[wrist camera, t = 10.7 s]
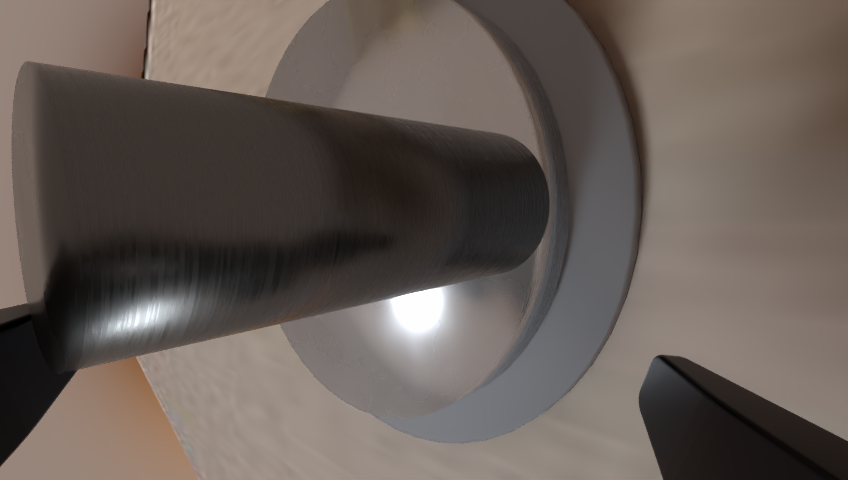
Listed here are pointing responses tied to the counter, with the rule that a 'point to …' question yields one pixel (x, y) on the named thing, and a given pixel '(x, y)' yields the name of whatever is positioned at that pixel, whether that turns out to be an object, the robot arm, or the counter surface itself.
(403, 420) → the dial base
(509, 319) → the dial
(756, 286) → the counter surface
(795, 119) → the counter surface
